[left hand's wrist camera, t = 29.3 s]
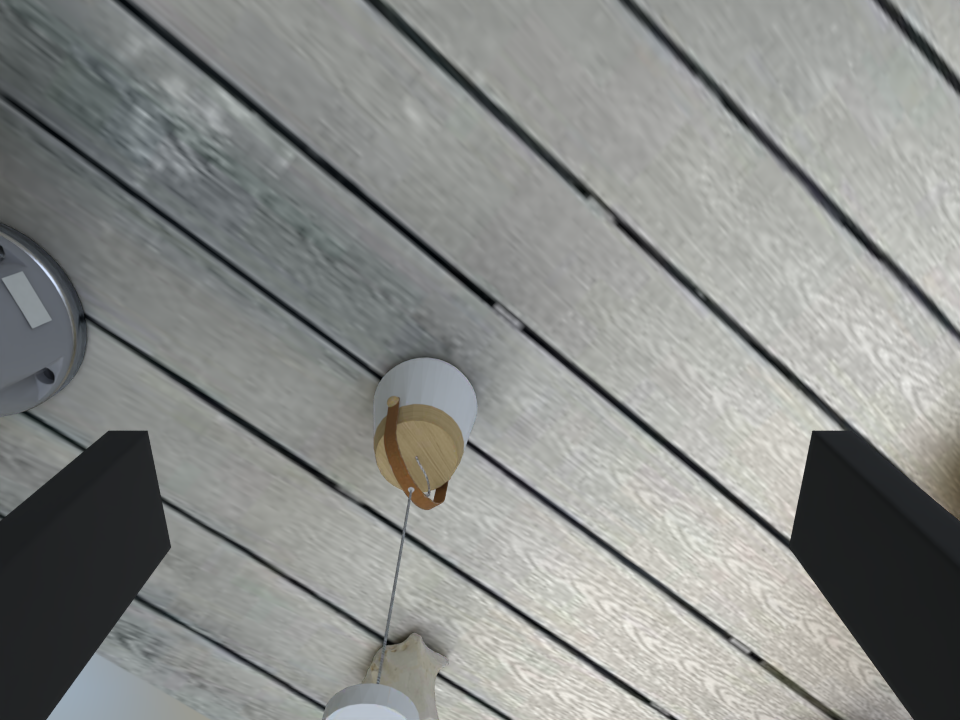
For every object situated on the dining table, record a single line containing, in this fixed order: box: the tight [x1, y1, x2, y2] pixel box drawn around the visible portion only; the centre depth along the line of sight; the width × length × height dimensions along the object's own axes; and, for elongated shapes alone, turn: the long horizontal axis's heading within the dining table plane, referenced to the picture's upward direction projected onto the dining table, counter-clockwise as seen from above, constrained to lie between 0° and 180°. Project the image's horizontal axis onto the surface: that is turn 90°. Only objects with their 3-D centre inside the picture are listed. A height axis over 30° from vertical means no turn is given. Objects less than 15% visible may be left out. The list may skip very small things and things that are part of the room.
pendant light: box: [322, 357, 477, 720], centre depth 37 cm, size 8×8×30 cm
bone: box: [362, 633, 449, 720], centre depth 57 cm, size 9×8×10 cm
